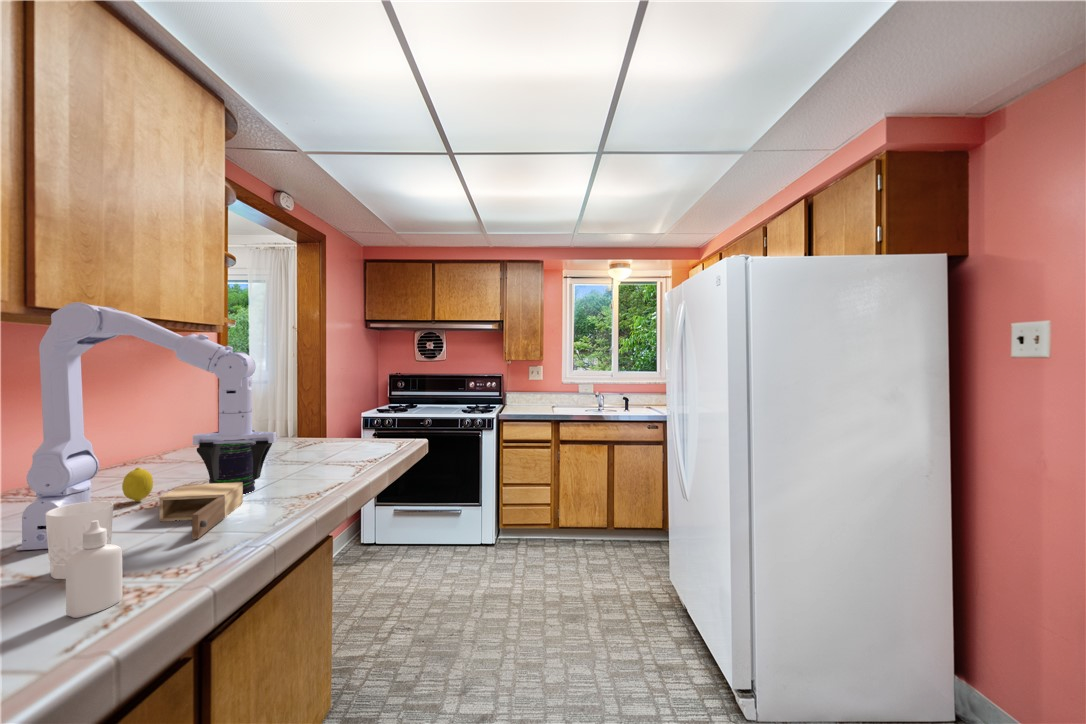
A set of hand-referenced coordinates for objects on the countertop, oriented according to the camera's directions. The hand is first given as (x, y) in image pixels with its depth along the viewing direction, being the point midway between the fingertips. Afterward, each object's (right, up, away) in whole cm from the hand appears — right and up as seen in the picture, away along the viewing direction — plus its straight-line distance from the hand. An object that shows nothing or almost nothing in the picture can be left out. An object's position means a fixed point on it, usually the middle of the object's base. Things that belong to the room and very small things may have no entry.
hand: (235, 479), depth 98 cm
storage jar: (-16, -9, +24) cm, 30 cm away
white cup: (-12, -10, -20) cm, 26 cm away
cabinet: (-12, -9, +8) cm, 17 cm away
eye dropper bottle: (+1, -10, -32) cm, 33 cm away
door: (-4, -9, -2) cm, 10 cm away
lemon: (-32, -9, +15) cm, 37 cm away
